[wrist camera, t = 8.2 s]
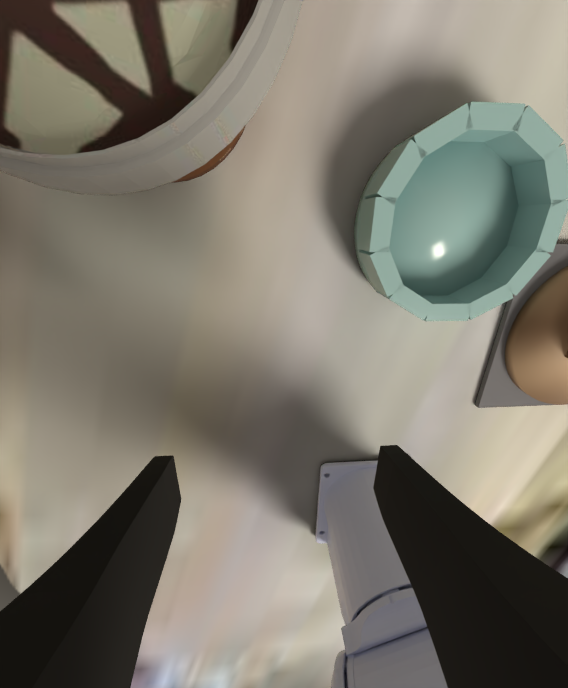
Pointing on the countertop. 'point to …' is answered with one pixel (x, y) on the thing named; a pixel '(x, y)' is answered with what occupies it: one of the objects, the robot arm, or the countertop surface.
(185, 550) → the countertop surface
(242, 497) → the countertop surface
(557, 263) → the mat
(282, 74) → the countertop surface
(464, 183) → the bowl
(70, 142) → the food container
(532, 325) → the lid
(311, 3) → the countertop surface
